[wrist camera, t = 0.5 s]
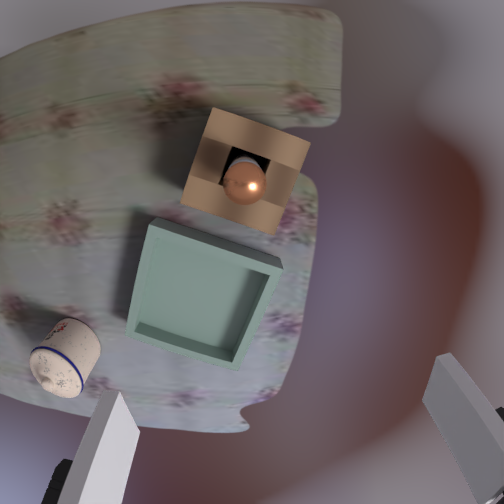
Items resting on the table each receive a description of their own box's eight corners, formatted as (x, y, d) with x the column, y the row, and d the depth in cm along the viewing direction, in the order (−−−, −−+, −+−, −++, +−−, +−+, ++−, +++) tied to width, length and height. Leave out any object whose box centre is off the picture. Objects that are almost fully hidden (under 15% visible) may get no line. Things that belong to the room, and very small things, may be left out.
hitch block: (189, 193, 36) (179, 203, 31) (217, 112, 33) (212, 107, 28) (269, 221, 38) (274, 235, 32) (300, 142, 35) (310, 142, 29)
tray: (132, 321, 42) (124, 335, 39) (156, 216, 37) (149, 224, 34) (237, 355, 44) (237, 371, 41) (280, 258, 39) (283, 269, 36)
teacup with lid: (65, 305, 41) (27, 348, 30) (111, 341, 43) (84, 392, 32) (43, 347, 44) (12, 389, 33) (84, 379, 46) (59, 425, 35)
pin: (227, 174, 36) (216, 196, 22) (236, 150, 35) (231, 156, 21) (251, 183, 36) (257, 211, 22) (261, 159, 35) (273, 171, 21)
